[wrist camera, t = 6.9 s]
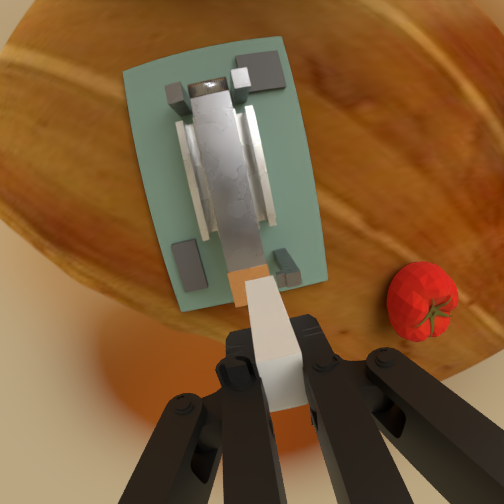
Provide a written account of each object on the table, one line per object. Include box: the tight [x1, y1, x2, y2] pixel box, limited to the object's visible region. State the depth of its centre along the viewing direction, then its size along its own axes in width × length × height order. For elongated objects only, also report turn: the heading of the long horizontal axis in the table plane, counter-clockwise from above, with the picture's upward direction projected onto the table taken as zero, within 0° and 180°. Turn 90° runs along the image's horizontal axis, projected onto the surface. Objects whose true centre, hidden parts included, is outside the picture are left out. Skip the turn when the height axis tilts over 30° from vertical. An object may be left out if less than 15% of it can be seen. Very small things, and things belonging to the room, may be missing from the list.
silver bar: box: [165, 67, 302, 288], centre depth 23 cm, size 17×8×6 cm, turn 11°
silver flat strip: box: [187, 76, 270, 307], centre depth 21 cm, size 18×3×1 cm, turn 12°
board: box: [123, 36, 328, 312], centre depth 26 cm, size 26×16×2 cm, turn 11°
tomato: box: [387, 262, 458, 342], centre depth 29 cm, size 9×9×8 cm
